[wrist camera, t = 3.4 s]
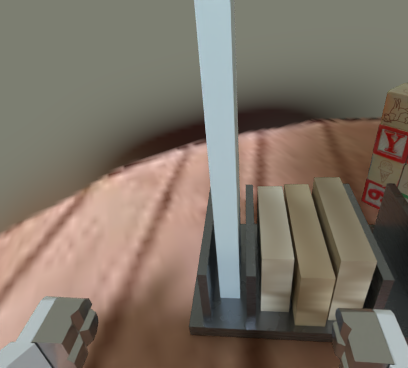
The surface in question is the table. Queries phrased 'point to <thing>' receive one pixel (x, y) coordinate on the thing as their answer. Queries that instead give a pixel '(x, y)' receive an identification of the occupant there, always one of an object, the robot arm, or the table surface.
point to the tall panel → (221, 133)
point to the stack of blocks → (390, 149)
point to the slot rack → (284, 321)
